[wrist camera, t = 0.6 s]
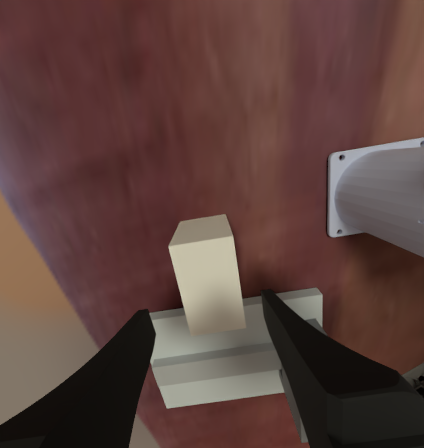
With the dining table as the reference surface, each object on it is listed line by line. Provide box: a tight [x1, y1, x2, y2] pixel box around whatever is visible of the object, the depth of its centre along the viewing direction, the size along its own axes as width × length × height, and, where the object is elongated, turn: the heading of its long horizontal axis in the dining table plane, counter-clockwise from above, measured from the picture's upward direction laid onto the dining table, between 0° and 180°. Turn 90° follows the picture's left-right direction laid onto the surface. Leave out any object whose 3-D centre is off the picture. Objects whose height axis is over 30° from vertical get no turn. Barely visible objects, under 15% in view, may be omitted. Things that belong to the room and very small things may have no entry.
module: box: [168, 214, 246, 336], centre depth 18 cm, size 4×9×6 cm, turn 9°
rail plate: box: [149, 288, 327, 443], centre depth 21 cm, size 20×14×7 cm
